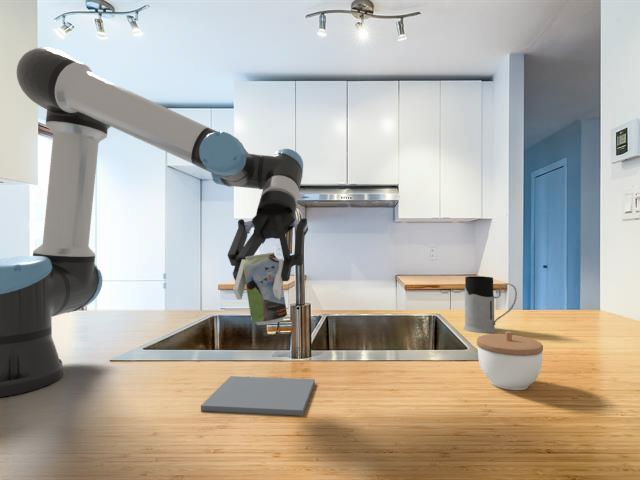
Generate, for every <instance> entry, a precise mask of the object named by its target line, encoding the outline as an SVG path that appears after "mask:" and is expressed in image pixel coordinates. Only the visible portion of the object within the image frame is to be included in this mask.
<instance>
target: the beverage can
mask: <svg viewBox="0 0 640 480" xmlns="http://www.w3.org/2000/svg"><path fill="white" fill-rule="evenodd" d="M245 258H246V260H245V262H244V265H243V268H244V275H245V281H246V285H245V289H246V293H247V300H248V307H249V312H250V313H249V315H250V320H251V322H253V323H255V324H256V325H257V326H262V325H263V326H265V325H271V324H276V323H280V322H282V321H284V318H285V317H287V316H288V312H287V306H286V300H285V293H284V292H285V291H284V285H283V286H282V288H281V297H280V300H279V299H278V298H276V297H275V296H274V293H273V285H274V280H275V276H276V274H277V271H278V268H279V258H278V257H276V255H275V252H267V253H261V254H254V256H248V257H245Z"/></svg>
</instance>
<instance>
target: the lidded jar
mask: <svg viewBox="0 0 640 480" xmlns="http://www.w3.org/2000/svg"><path fill="white" fill-rule="evenodd" d="M476 345H477V357H478V358H477V359H478V364H479V366H480V368H481V371H482V372H483V374H484V376H486V378H487V379H488V380H489V381H490V384H491V385H493V386H495V387H498V388H499V389H504V390H508V391H523V390H526V389H529V386H530V385H531V384H534V382H535V381H536V380H537V379H538V378H539V375H540V373H541V369H542V365H543V364H542V363H543V351H544V348H543V347H544V345H543V343H541V342H540V341H538V340H535V339H534V338H530V337H525V336H522V335H514V334H513V332H512V331H505V334H504V333H503V334H502V333H487V334H483V335H481V336H478V337H477V338H476Z"/></svg>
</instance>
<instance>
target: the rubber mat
mask: <svg viewBox="0 0 640 480" xmlns="http://www.w3.org/2000/svg"><path fill="white" fill-rule="evenodd" d="M315 382H316V381H315V378H294V377H293V378H291V377H289V378H288V377H263V376H262V377H261V376H259V377H258V376H240V375H239V376H236V375H235V376H234V375H231V376H229V377H228V378H227V379H226V380H225V381H224V382H223V383H222V384H221V385H220V386H219V387H218V388H216V390H215V391H214V392H213V393H212V394H211V395H210V396H209V397H208V398H207V399H206V400H205V401H204V402H202V404H201V405H200V411H201V412H220V413H221V412H222V413H239V414H241V413H242V414H259V415H279V416H282V415H283V416H284V415H285V416H302V417H303V416H304V413H305V410H306V407H307V405H308V403H309V400H310V397H311V394H312V391H313V389H314V386H315Z"/></svg>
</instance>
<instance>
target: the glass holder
mask: <svg viewBox="0 0 640 480" xmlns="http://www.w3.org/2000/svg"><path fill="white" fill-rule="evenodd" d="M464 279H465V284H464V326H463V330H464V331H468V332H471V333H477V334H493V333H495V332H497V329H496V327H495V326H496V322H497V321H498V320H499V319H501V318H503V317H505V316H506V315H507V314H508V313H510V312H511V311H512V309H513V308H514V306H515V304H516V301H517V299H518V298H517V296H518V295H517V294H518V292H517V288H516V286H515V285H514V284H511V283H507V282H506V283H503V284H502V285H500V287H499V289H498V296H495V295H494V277H491V276H484V275H483V276H482V275H481V276H480V275H479V276H474V275H470V276H465V278H464ZM508 285H510V286H511V287H513V289H514V301H513V303H512V304H511V306H510V307H509V309H508V310H507V311H505V312H504V313H503V314H501V315H500V316H498V317H497V318H496V319H495V299H499V298H500V297H501V295H502V294H501V291H502V289H503V287H504V286H508Z"/></svg>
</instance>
